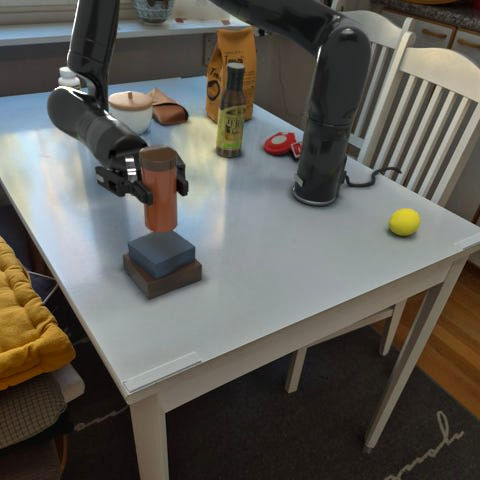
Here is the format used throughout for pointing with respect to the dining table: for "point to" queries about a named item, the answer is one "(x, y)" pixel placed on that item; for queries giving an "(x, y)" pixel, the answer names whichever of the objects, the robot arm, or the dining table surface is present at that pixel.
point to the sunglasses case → (167, 109)
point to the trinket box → (132, 109)
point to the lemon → (404, 221)
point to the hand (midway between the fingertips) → (168, 194)
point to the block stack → (161, 263)
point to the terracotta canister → (160, 187)
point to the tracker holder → (283, 144)
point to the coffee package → (226, 51)
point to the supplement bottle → (69, 79)
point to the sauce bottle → (231, 113)
